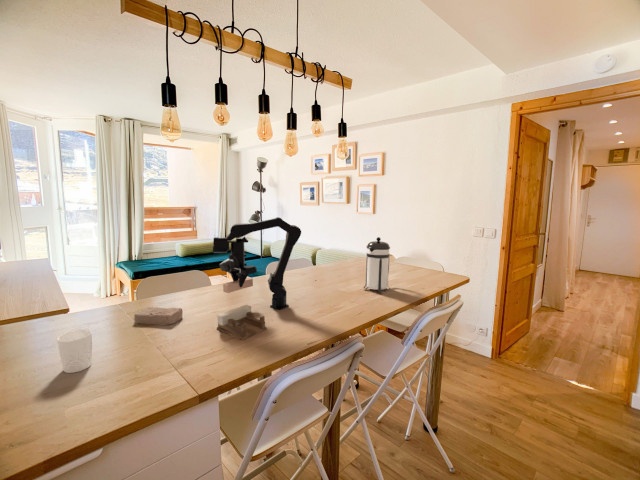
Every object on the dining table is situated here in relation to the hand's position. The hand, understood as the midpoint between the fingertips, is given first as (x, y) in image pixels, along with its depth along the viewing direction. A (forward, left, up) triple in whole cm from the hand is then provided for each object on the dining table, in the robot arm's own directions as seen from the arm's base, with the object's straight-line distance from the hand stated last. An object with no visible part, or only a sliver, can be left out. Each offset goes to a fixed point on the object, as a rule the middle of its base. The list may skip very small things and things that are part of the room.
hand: (238, 286), depth 137 cm
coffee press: (-69, +36, -11) cm, 79 cm away
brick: (+28, -16, -12) cm, 35 cm away
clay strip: (0, 0, -1) cm, 1 cm away
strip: (+13, +14, -8) cm, 20 cm away
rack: (+13, +17, -11) cm, 24 cm away
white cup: (+60, 0, -11) cm, 61 cm away
